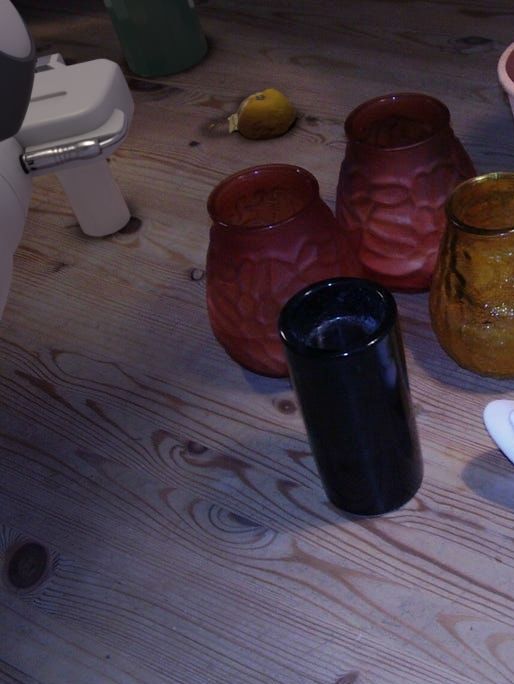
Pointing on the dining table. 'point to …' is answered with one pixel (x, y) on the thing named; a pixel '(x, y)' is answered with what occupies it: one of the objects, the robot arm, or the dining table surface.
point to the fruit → (263, 115)
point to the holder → (158, 34)
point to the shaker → (94, 198)
